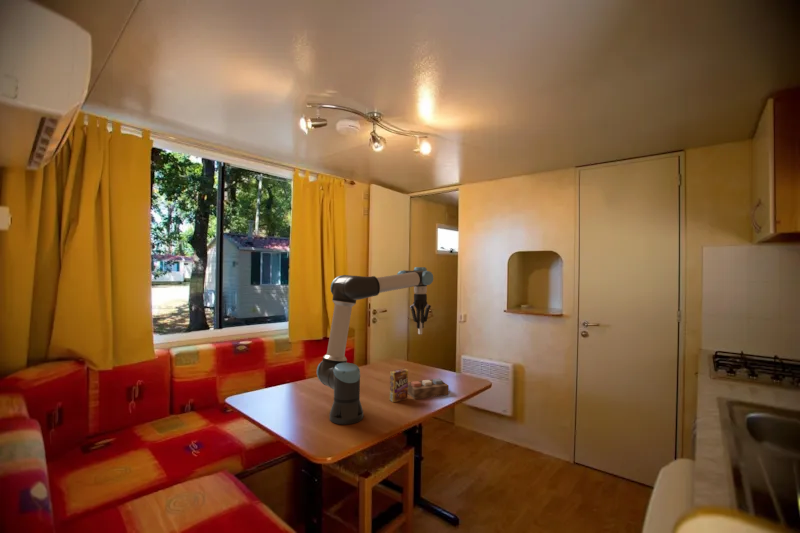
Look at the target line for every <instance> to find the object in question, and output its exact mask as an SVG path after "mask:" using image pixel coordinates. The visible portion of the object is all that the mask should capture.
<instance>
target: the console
mask: <svg viewBox="0 0 800 533" xmlns="http://www.w3.org/2000/svg"><path fill="white" fill-rule="evenodd" d="M433 379H434V378H433ZM433 379H429V380H430V381H431V382H432V385H428V386H424V385H423V384H422V380H418V381H419V382H420V383H421V386H420V387H413V386H411V382H412V381H408V395H409V396H410V397H411V398H412V399H414V400H418V399H427V398H435V397H440V396H447V395H449V385H448V383H445V382H444V381H443V384H434V383H433Z"/></svg>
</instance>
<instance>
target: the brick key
mask: <svg viewBox="0 0 800 533" xmlns="http://www.w3.org/2000/svg"><path fill="white" fill-rule="evenodd" d="M419 381H420V380H416V381H414V380H413V381H410V382H411V386H413V387H420V386H421V383H420V382H419Z"/></svg>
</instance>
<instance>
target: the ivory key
mask: <svg viewBox="0 0 800 533" xmlns="http://www.w3.org/2000/svg"><path fill="white" fill-rule="evenodd" d="M430 380H431V379H425V380H424V379H423V380H421V381H422V384H423V385H424V386H428V385H432V382H431V381H430Z"/></svg>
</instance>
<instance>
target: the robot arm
mask: <svg viewBox="0 0 800 533" xmlns="http://www.w3.org/2000/svg"><path fill="white" fill-rule="evenodd" d="M433 282H434V275H433V272H431V271H429V270H427V267H426V266H425V267H424V266H421V267H419V266H415V267H414V268H413V270H404V269H403V270H399V271H398V272H397V274H393V275H385V276H380V277H377V276H375V275H373V276H361V275H349V274H343V275H342V274H341V275H338V276H336V277H335V278H334V279H333V280H332V282H331V285H330V292H331V295H332V300H331V301H332V303H333V304H334V308H333V313H332V314H333V315H332V321H331V325H330V332H329V339H328V344H327V350H326V354H324V355H323V356H322V361H320V363H318V365H317V367H316V376H317V379H318V380H319V381H320V382H321V384H323V385H324V386H327V387H329V388H330V389H332V390H333V402H332V405H331V408H330V411H329V421H330V422H331V423H334V424H336V425H353V424H356V423H359V422H360V421H362V420H363V418H364V409H363V406H362V403H361V400H360V397H361V396H360V395H361V394H360V393H361V392H360V390H361V370H360V367H359V366H358V365H357V364H355V363H352V362H351V363H350V362H347V361H348V359H347V357H346V355H345V354H346V347H347V341H348V335H349V329H350V323H351V322H350V321H351V315H352V309H353V307H354V306H355V305H356V304H357V301H358V300H364V299H367V298H368V299H369V298H372V297H377V296H378V295H379V294H380V293H386V292H391V291H397V290H402V289H407V288H412V287H413V293H414V294H413V304H411V305H409V308H410V311H411V315H412V319H413V322H415V323H416V329H417V334H418V335H423V329H424V328H425V326H424V324H425V323H427V321H428V316H429V313H430V309H431V308H432V305H430V304H428V301H427V300H428V297H427V296H428V295H427V292H428V286H430V285H431V284H432V283H433Z"/></svg>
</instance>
